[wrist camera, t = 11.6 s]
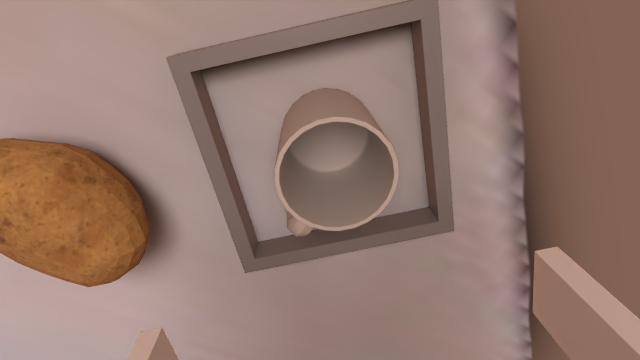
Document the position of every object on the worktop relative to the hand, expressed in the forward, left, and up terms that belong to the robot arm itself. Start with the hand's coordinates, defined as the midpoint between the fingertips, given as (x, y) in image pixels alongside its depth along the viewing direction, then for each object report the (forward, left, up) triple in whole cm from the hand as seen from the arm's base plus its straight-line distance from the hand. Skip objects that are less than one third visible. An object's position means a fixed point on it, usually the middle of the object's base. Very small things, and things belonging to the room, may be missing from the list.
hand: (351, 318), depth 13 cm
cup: (0, 0, -19) cm, 19 cm away
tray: (0, 0, -19) cm, 19 cm away
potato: (+1, +20, -19) cm, 27 cm away
